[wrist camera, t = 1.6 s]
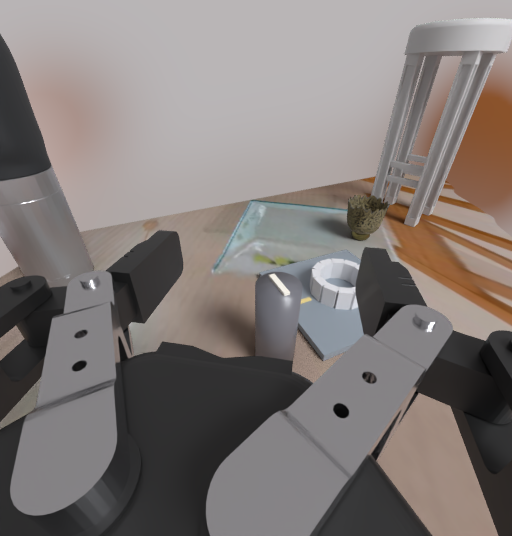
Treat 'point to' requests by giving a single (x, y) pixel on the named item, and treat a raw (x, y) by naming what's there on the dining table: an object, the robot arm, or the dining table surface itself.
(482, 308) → the dining table surface
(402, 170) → the stool
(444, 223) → the dining table surface
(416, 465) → the dining table surface
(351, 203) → the cup
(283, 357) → the grey cylinder with tab
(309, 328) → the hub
